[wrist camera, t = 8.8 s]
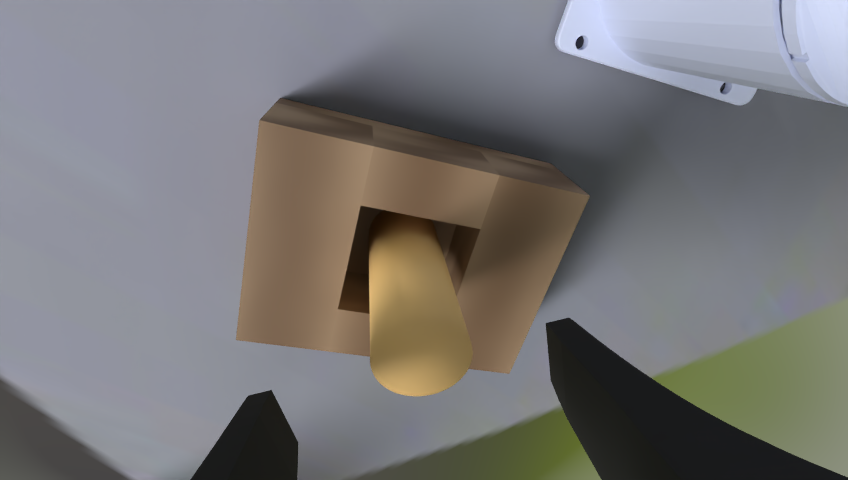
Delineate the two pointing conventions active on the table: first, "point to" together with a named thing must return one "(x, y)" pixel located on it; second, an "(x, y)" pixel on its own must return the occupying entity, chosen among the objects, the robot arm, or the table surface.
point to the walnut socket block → (402, 193)
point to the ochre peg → (413, 309)
